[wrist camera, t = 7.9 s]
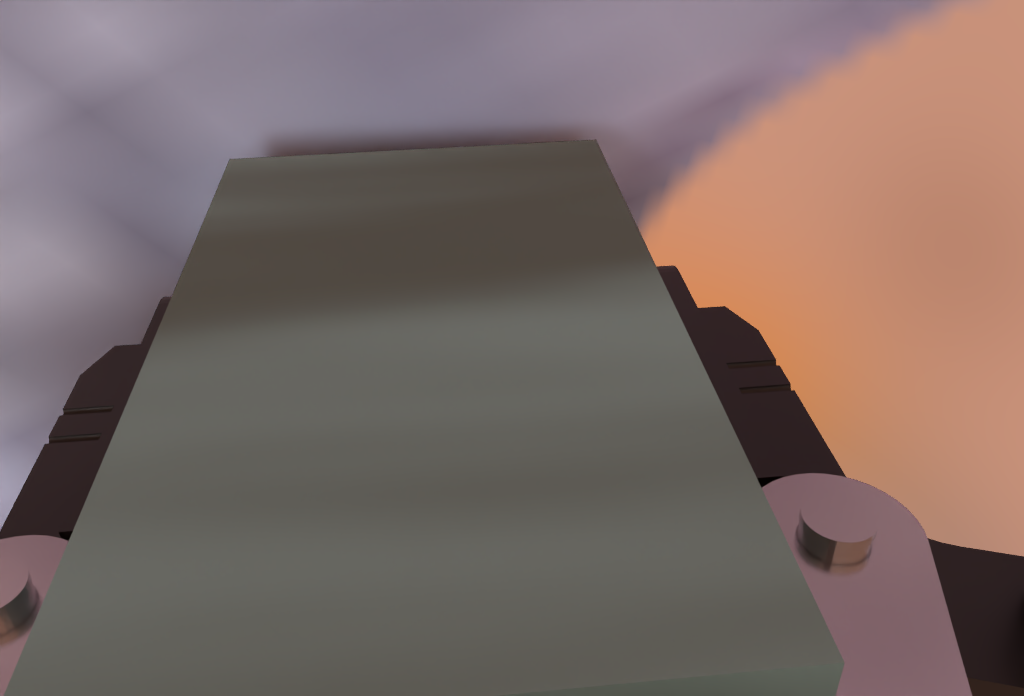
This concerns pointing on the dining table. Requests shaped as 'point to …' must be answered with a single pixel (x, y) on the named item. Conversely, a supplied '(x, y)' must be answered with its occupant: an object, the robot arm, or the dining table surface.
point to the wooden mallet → (425, 458)
